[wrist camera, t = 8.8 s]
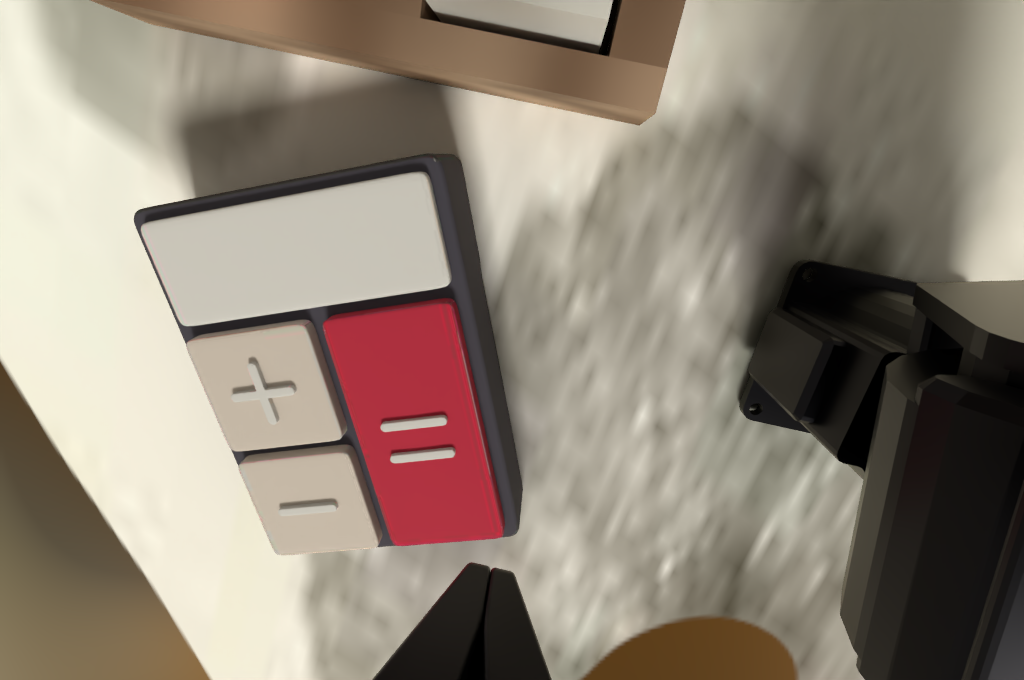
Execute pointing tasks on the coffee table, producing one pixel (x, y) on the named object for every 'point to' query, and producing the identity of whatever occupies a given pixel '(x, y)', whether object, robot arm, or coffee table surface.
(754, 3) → the coffee table surface
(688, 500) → the coffee table surface
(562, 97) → the key panel
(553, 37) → the cream key
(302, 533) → the calculator
